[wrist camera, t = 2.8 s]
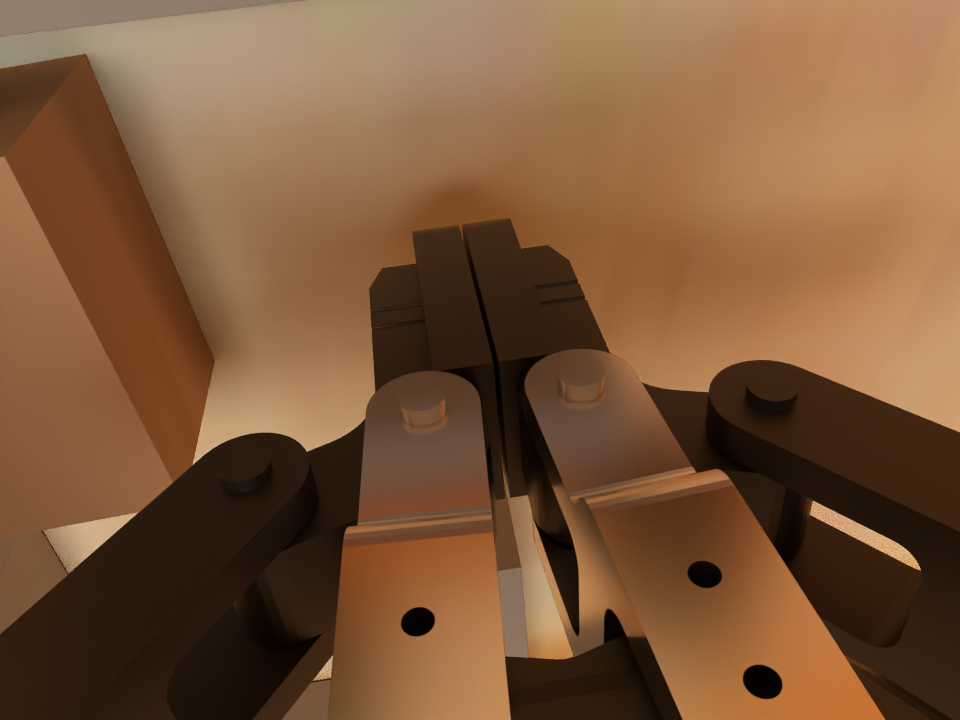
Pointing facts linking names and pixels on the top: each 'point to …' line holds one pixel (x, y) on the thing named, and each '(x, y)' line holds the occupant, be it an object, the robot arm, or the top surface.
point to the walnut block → (85, 314)
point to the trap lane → (29, 557)
